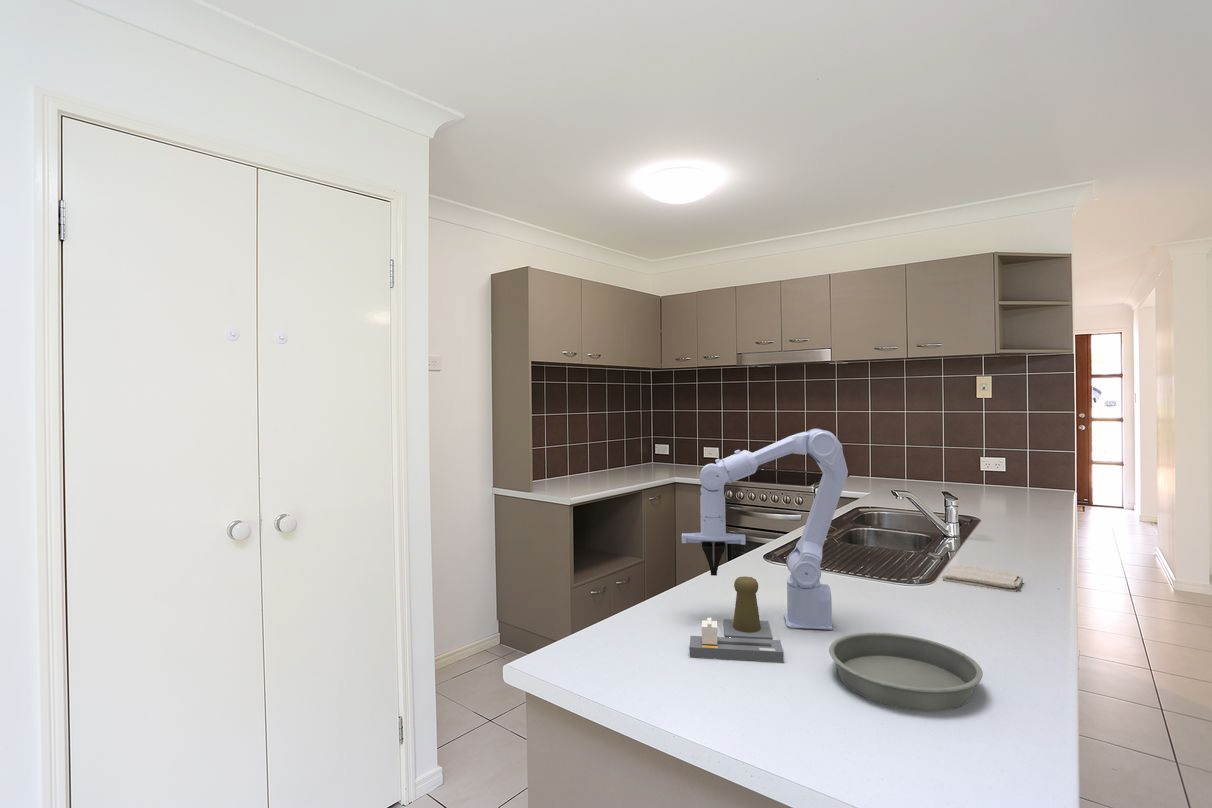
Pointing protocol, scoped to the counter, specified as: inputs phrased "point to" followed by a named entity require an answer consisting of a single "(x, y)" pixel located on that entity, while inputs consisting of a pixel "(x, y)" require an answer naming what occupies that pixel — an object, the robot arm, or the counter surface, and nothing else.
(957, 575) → the washcloth
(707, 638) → the switch tab
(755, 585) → the cork
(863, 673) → the cake pan
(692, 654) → the switch bar
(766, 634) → the slate mat
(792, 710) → the counter surface
